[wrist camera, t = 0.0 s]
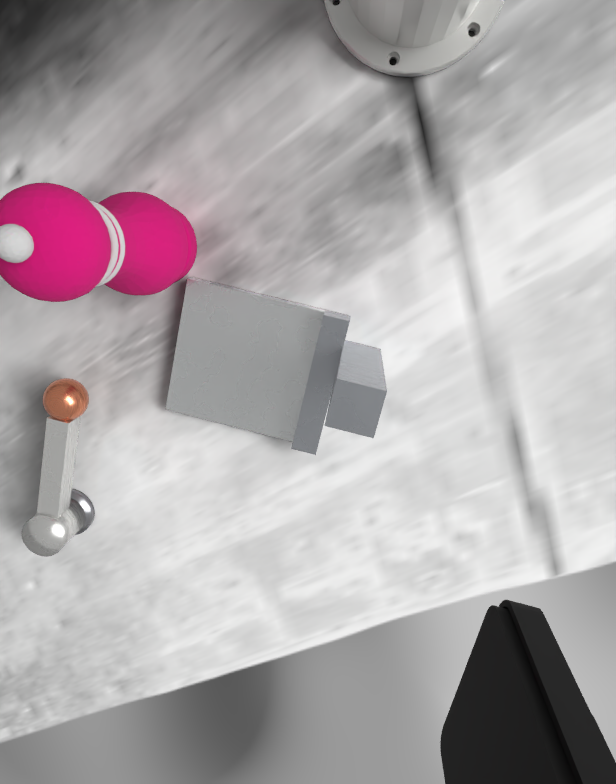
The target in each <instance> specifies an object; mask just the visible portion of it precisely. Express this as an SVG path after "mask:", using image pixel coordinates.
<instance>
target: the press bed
mask: <svg viewBox="0 0 616 784" xmlns="http://www.w3.org/2000/svg"><path fill="white" fill-rule="evenodd" d="M349 321H350V316H349V315H345V314H341V313H337V312H332V311H328V310H324V309H320V308H316V307H312V306H308V305H304V304H300V303H296V302H292V301H288V300H284V299H280V298H276V297H272V296H268V295H264V294H259V293H255V292H251V291H247V290H243V289H239V288H235V287H231V286H227V285H223V284H219V283H215V282H211V281H207V280H203V279H199V278H195V277H191V278H187V284H186V290H185V296H184V302H183V307H182V313H181V319H180V325H179V331H178V337H177V343H176V349H175V355H174V361H173V367H172V373H171V379H170V385H169V391H168V396H167V402H166V408H165V409H166V410H170V411H174V412H177V413H181V414H185V415H189V416H193V417H197V418H201V419H205V420H209V421H213V422H217V423H221V424H225V425H229V426H232V427H236V428H240V429H244V430H248V431H252V432H256V433H260V434H264V435H268V436H272V437H276V438H280V439H284V440H288V441H291V442H293V443H292V448H291V449H295V450H299V451H303V452H307V453H311V454H315V455H316V451H317V447H318V443H319V439H320V435H321V431H322V427H323V423H324V420H325V416H326V412H327V408H328V404H329V408H328V413H327V417H326V422H325V426H328V427H332V428H336V429H339V430H343V431H347V432H351V433H355V434H359V435H363V436H367V437H371V438H374V435H375V431H376V428H377V424H378V421H379V417H380V414H381V410H382V407H383V403H384V399H385V396H386V392H387V389H386V382H385V375H384V369H383V362H382V355H381V349H378V348H374V347H370V346H366V345H362V344H358V343H354V342H350V341H346V340H345V337H346V333H347V329H348V325H349ZM332 388H333V389H332ZM331 392H332V394H331ZM330 396H331V398H330ZM329 400H330V403H329ZM71 498H72V499H74V500H76V501H77V502H78V503H79V504H80V505H81V506H82V507H83V509H84V511H85V515H86V520H85V524H84V525H83V527H82V528H81V529H80V530H79V531H78V532H77V533H76V534H75V535H77V534H80V533H82V532H84V531H85V530H86V529H87V528H88V527H89V526H90V525H91V524H92V522H93V520H94V514H95V513H94V507H93V505H92V502H91V501H90V499H89V498H88V497H87V496H86V495H85V494H83V493H82V492H80V491H78V490H75V489H72V490H71Z"/></svg>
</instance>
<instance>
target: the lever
mask: <svg viewBox="0 0 616 784" xmlns="http://www.w3.org/2000/svg"><path fill="white" fill-rule="evenodd" d="M88 403H89V396H88V392H87V390H86V389H85V387H84V386H83V385H82V384H81V383H79V382H78V381H76V380H73V379H67V378H65V379H59V380H56V381H54V382H52V383H51V384H50V385H49V386H48V387H47V388H46V390H45V392H44V394H43V405H44V408H45V410H46V411H47V413H48V414H49V415H51V416H49V417H47V421H46V431H45V440H44V449H43V459H42V468H41V478H40V487H39V497H38V506H37V514H36V515H35V516H33V517H32V518H31V519H30V520H29V521H27V522H26V523H25V525H24V526H23V529H22V539H23V542H24V543H25V545H26V547H27V548H28V549H29V550H30V551H32V552H33V553H35V554H37V555H40V556H52V555H54V554H56V553H58V552H59V551H60V550H61V549H62V548H63V547H64V546H65V544H66V543H67V542H68V541H69V540H70V539H71V538H72V537H73V536H74V535H75V534H76V533H77V532H78V531H79V530H80V529H81V528H82V527H83V525H84V524H85V520H86V515H85V511H84V509H83V507H82V506H81V505H80V504H79V503H78V502H77V501H76V500H74V499H72V498H71V490H72V482H73V474H74V466H75V458H76V450H77V442H78V434H79V426H80V418H81V415H82V414H83V413H84V412H85V410H86V409H87V406H88Z"/></svg>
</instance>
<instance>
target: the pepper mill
mask: <svg viewBox="0 0 616 784" xmlns="http://www.w3.org/2000/svg"><path fill="white" fill-rule="evenodd" d="M196 253H197V243H196V237H195V233H194V230H193V228H192V226H191V224H190V222H189V221H188V220H187V219H186V217H185V216H184V215H183V214H181V213H180V212H179V211H178V210H176V209H174V208H173V207H171V206H169V205H168V204H167V203H165V202H164V201H162V200H161V199H159V198H157V197H155V196H153V195H150V194H146V193H142V192H123V193H118V194H115V195H112V196H110V197H108V198H106V199H104V200H103V201H101V202H99V203H96V202H93V201H90V200H88V199H86V198H85V197H83V196H82V195H81V194H79V193H78V192H76V191H74V190H72V189H69V188H67V187H64V186H61V185H57V184H51V183H35V184H29V185H25V186H22V187H19V188H17V189H14V190H12V191H11V192H9V193H8V194H6V195H5V196H4V197H3V198H2V199H1V200H0V275H1V276H2V277H3V279H4V280H5V281H6V282H8V283H9V284H10V285H11V286H12V287H13V288H14V289H16V290H18V291H19V292H21V293H23V294H25V295H27V296H29V297H32V298H35V299H38V300H44V301H51V302H60V301H68V300H73V299H76V298H78V297H80V296H83V295H85V294H87V293H89V292H90V291H91V290H92V289H93V288H94V287H98V286H101V285H103V284H105V285H106V286H108V287H110V288H112V289H114V290H116V291H119V292H122V293H124V294H130V295H150V294H155V293H158V292H160V291H162V290H164V289H166V288H168V287H169V286H170V285H171V284H173V283H174V282H176V281H178V280H180V279H181V278H183V277H184V276H185V275H186V274H187V273H188V272H189V270H190V269H191V267H192V266H193V263H194V261H195V258H196Z"/></svg>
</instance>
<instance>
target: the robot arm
mask: <svg viewBox="0 0 616 784" xmlns="http://www.w3.org/2000/svg"><path fill="white" fill-rule="evenodd" d="M333 1H334V0H324V4H325V7H326V10H327V13H328V17H329V20H330V22H331V24H332V26H333V28H334V30H335V32H336V34H337V36H338V38H339V39H340V40H341V42H342V43H343V44H344V45H345V47H346V48H347V49H348V50H349V52H350V53H352V54H353V55H354V56H355V57H356V58H357V59H359V60H360V61H361V62H362V63H364V64H366V65H367V66H369V67H371V68H373V69H375V70H377V71H379V72H383V73H386V74H390V75H393V76H404V77H414V76H422V75H428V74H431V73H434V72H437V71H440V70H443V69H445V68H447V67H449V66H450V65H452V64H454V63H456V62H457V61H459V60H461V59H462V58H463V57H464V56H466V55H467V54H468V53H469V52H470V51H471V50H473V49H474V48H475V47H476V46H477V45H478V43H479V42H480V41H481V40H482V39H483V37H484V36H485V35H486V34H487V33H488V31H489V30H490V28H491V26H492V25H493V23H494V22H495V20H496V18H497V16H498V14H499V12H500V10H501V8H502V6H503V4H504V2H505V0H339V1H340V4H339V5H333ZM470 30H472V31H474V33H475V36H474V37H471V36H469V35H468V32H469V31H470ZM391 59H395V60H396V61H397V63H396V64H395V65H391V64H390V63H389V61H390V60H391ZM441 756H442V763H443V770H444V777H445V784H616V763H615V760H614V758H613V756H612V754H611V752H610V750H609V748H608V746H607V744H606V741H605V739H604V737H603V735H602V733H601V731H600V729H599V727H598V725H597V723H596V721H595V719H594V717H593V715H592V714H591V712H590V710H589V708H588V706H587V704H586V702H585V700H584V698H583V696H582V693H581V692H580V689H579V687H578V685H577V683H576V681H575V679H574V677H573V675H572V673H571V670H570V668H569V666H568V664H567V662H566V660H565V658H564V656H563V654H562V652H561V650H560V647H559V645H558V643H557V641H556V639H555V637H554V635H553V633H552V631H551V629H550V626H549V624H548V622H547V620H546V618H545V616H544V614H543V612H542V611H541V609H539V608H536V607H532V606H528V605H525V604H521V603H516V602H513V601H509V600H504V601H503V602H502V603H501V604H500V605H499V607H497V606H490V607H489V609H488V611H487V613H486V615H485V618H484V620H483V623H482V626H481V629H480V631H479V634H478V636H477V639H476V642H475V645H474V647H473V649H472V652H471V655H470V657H469V660H468V663H467V665H466V668H465V671H464V673H463V676H462V679H461V681H460V684H459V686H458V689H457V692H456V694H455V697H454V700H453V702H452V705H451V707H450V710H449V713H448V715H447V718H446V721H445V723H444V726H443V730H442V735H441Z"/></svg>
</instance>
